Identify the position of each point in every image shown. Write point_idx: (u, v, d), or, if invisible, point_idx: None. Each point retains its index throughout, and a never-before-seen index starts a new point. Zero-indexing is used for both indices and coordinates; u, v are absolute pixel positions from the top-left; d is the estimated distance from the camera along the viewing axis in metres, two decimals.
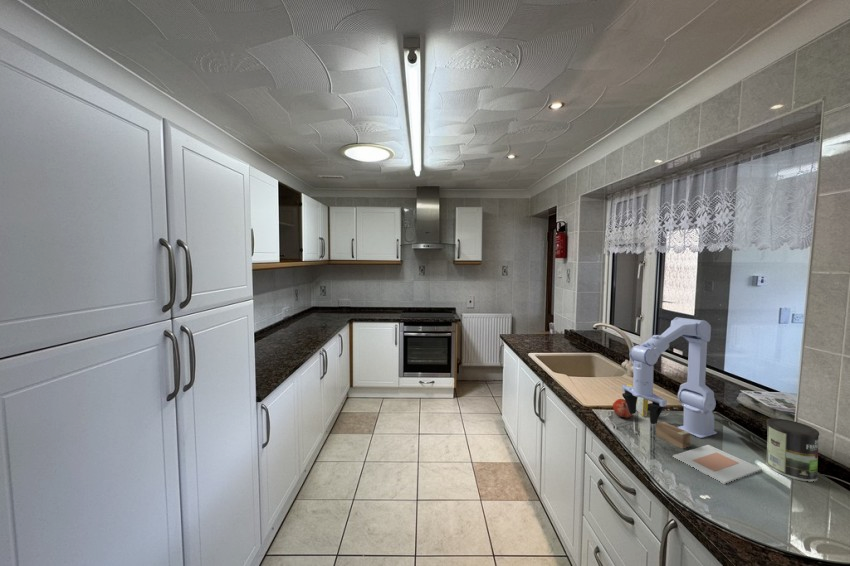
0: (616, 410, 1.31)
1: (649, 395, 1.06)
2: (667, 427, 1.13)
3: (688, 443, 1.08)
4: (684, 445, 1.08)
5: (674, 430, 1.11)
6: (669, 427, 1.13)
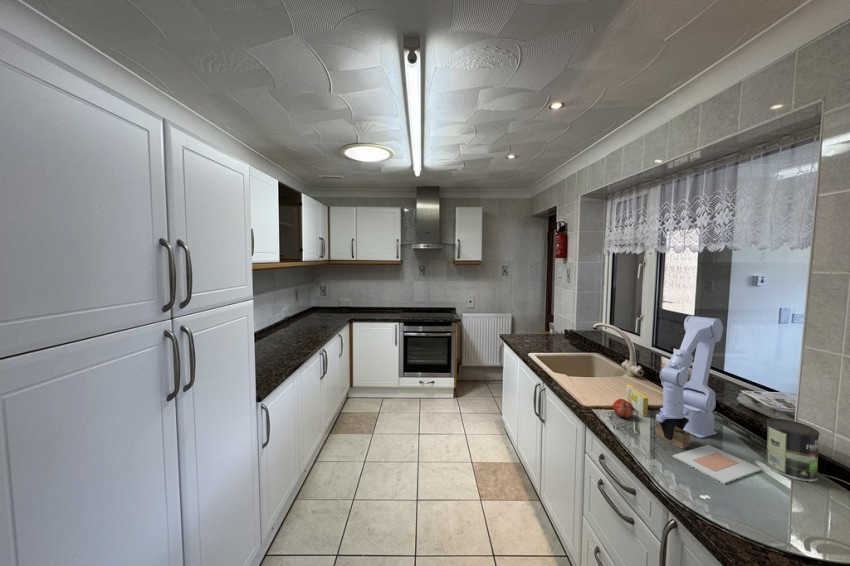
0: (616, 410, 1.31)
1: (665, 412, 1.12)
2: None
3: (688, 443, 1.08)
4: (684, 445, 1.08)
5: (674, 429, 1.11)
6: None
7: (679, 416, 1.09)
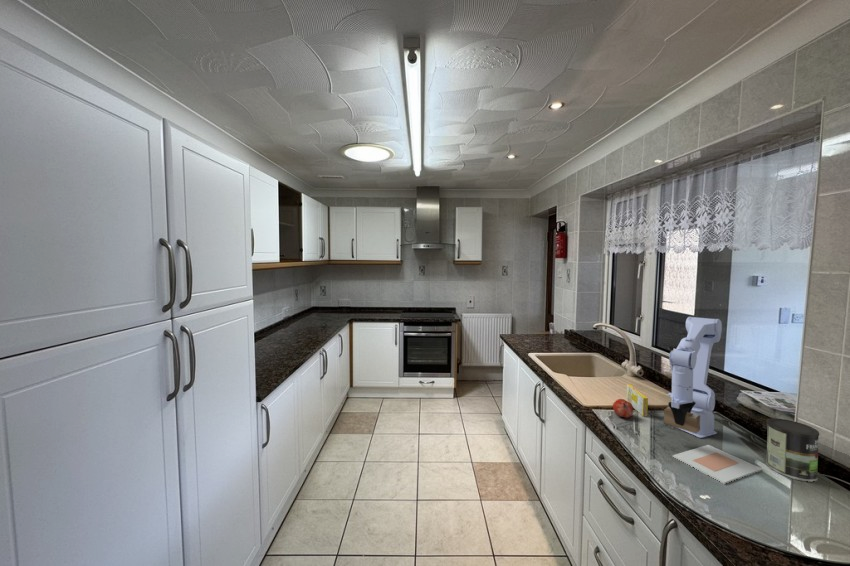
0: (616, 410, 1.31)
1: (676, 397, 1.08)
2: None
3: (699, 426, 1.06)
4: (697, 429, 1.05)
5: None
6: None
7: (691, 400, 1.06)
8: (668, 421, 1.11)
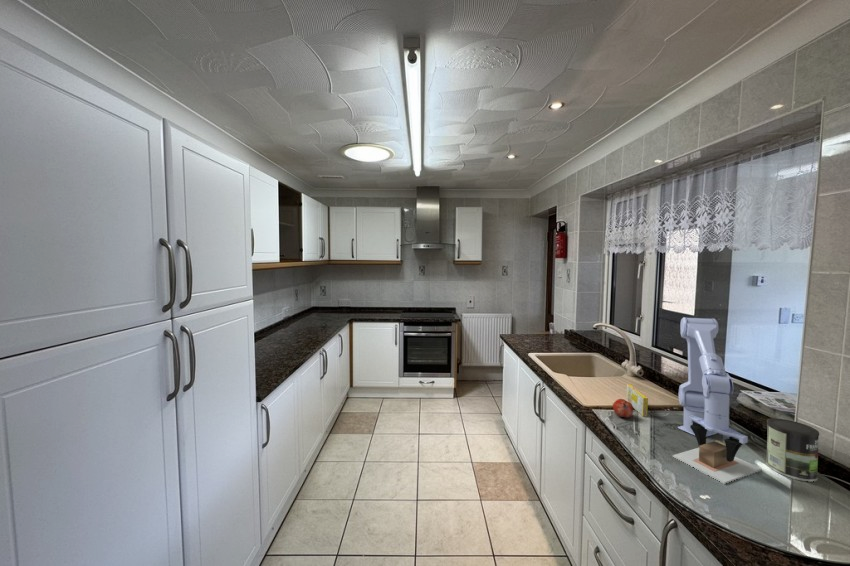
0: (616, 410, 1.31)
1: (725, 429, 0.96)
2: (718, 448, 0.98)
3: None
4: None
5: (721, 447, 0.99)
6: (716, 447, 0.98)
7: None
8: (716, 463, 0.96)
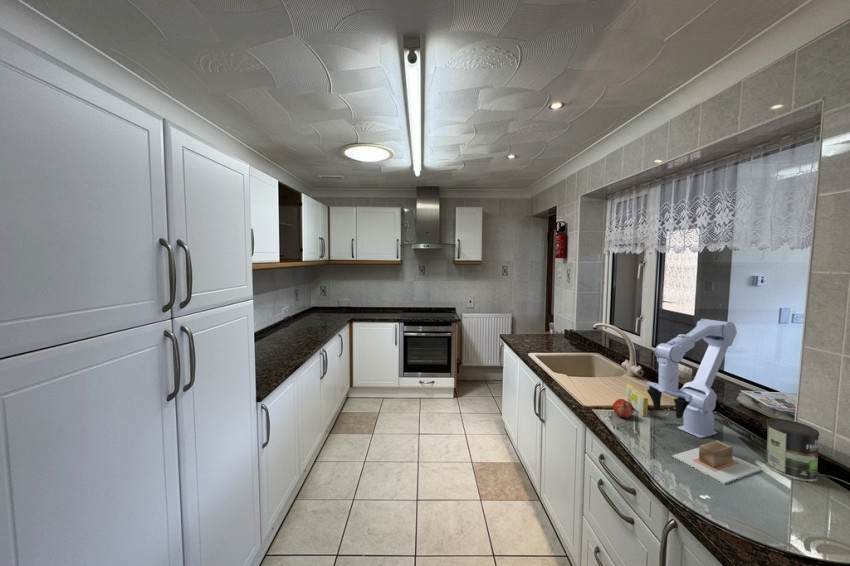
0: (616, 410, 1.31)
1: (675, 391, 1.11)
2: (718, 448, 0.98)
3: None
4: None
5: (721, 447, 0.99)
6: (716, 447, 0.98)
7: None
8: (716, 463, 0.96)
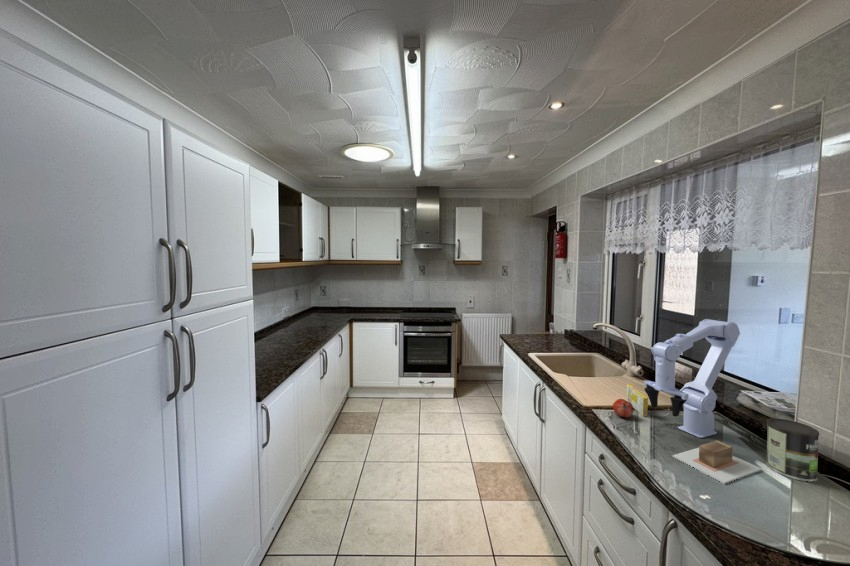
0: (616, 410, 1.31)
1: (671, 389, 1.12)
2: (718, 448, 0.98)
3: None
4: None
5: (721, 447, 0.99)
6: (716, 447, 0.98)
7: None
8: (716, 463, 0.96)
